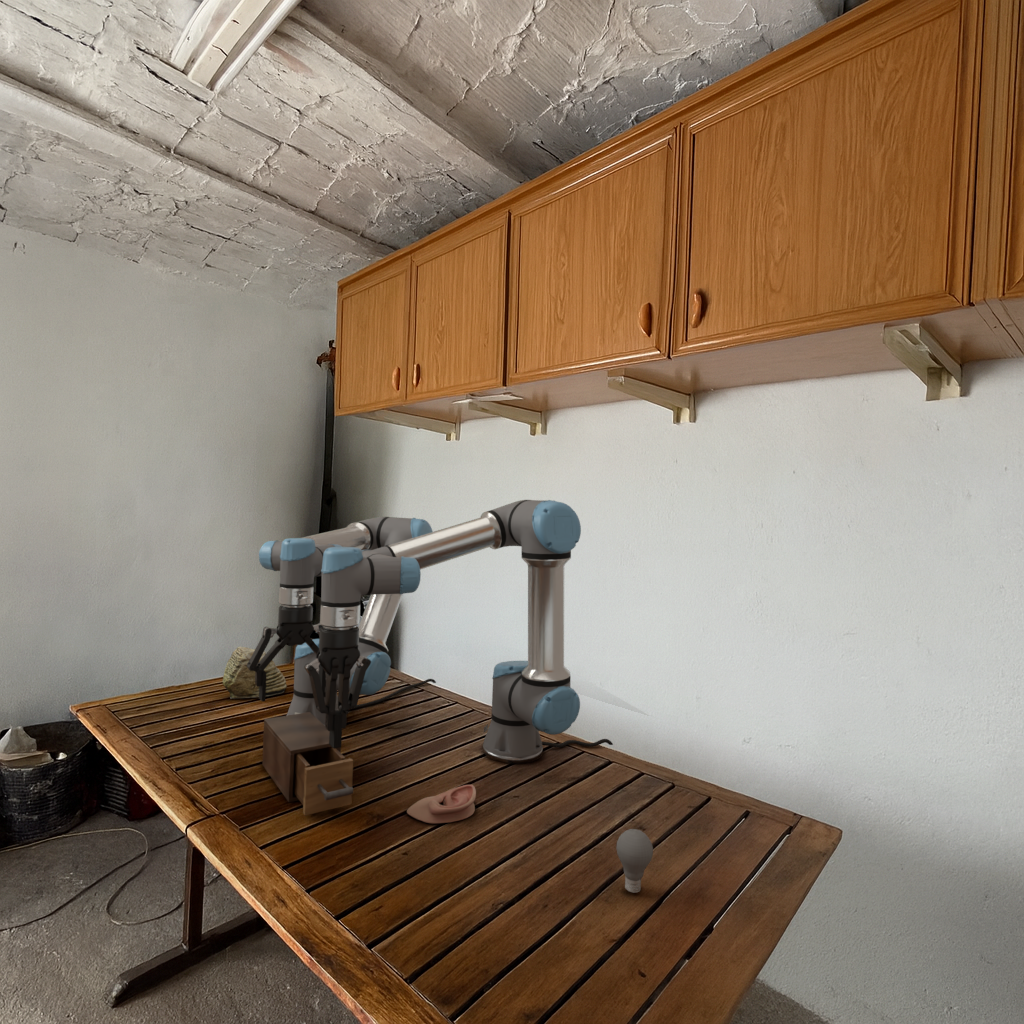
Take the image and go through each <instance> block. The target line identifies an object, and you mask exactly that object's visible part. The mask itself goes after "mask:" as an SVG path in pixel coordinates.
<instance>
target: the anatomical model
mask: <svg viewBox="0 0 1024 1024" xmlns="http://www.w3.org/2000/svg"><path fill="white" fill-rule="evenodd" d="M476 798H477V790H476V787H475V785H473V784H464V785H460V786H458V787H454V788H451V789H449V790H447V791H443V792H442V793H440V794H437V795H434V796H433V795H432V796H427V797H424V798H421V799H419V800H417V801H416V802H415V803H413V804H412V805H411V806H409V807H408V809H407V810H406V814H407V815H409V816H410V817H412V818H414V819H415V820H417V821H421V822H423V823H427V824H445V823H454V822H458V821H462V820H465V819H467V818H469V817H471V816H472V815H473V814H474V813H475V809H476V807H475V806H476V805H475V803H474V802H475V800H476Z"/></svg>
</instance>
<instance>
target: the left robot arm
mask: <svg viewBox="0 0 1024 1024" xmlns="http://www.w3.org/2000/svg"><path fill="white" fill-rule="evenodd" d="M431 532H434V531H433V528H432V526H431V524H430V523H429V522H428V521H427V520H426V519H424V518H421V519H420V518H416V517H412V518H410V517H397V516H396V517H395V516H377V517H371V518H367V519H362V520H359V521H354V522H351V523H349V524H347V526H346V527H342V528H338V529H334V530H329V531H325V532H321V533H317V534H312V535H307V536H302V537H287V538H284V539H282V541H281V540H278V539H277V540H267V541H266V542H264V543H263V544H262V546H261V547H260V549H259V552H258V561H259V564H260V565H261V567H262V568H263V569H265V570H270V571H273V572H279V590H278V591H279V592H278V603H279V606H278V618H277V622H278V623H277V626H276V627H268V626H263V629H262V634H261V635H262V636H261V637H260V639H259V642H258V643H257V644H256V647H255V648H254V649H255V651H254V653H253V655H252V656H251V658H250V660H249V662H248V664H247V668H248V669H249V670H250V671H255V684H256V686H257V687H258V686H259V697H258V699H259V700H260V701H261V702H266V698H267V696H266V672H265V671H264V669H265V668H266V667H267V666H268V664H269V663H270V662H271V661H272V660H273V661H274V659H275V657H276V656H277V655H278V654H279V653H280V652H281V650H283V649H284V648H285V647H286V646H288V647H294V646H296V647H295V652H294V653H295V654H294V657H293V660H294V661H293V662H294V663H293V664H294V668H293V695H292V696H293V697H292V699H291V702H290V704H289V708H288V711H287V713H286V715H285V716H288V715H294V714H301V713H307V712H310V713H311V714H312V715H314V716H315V717H316V718H317V719H318V720H319V721H320V722H321V723H322V724H323V725H324V726H325V719H326V714H325V713H321V712H319V711H318V710H317V709H316V705H315V700H314V696H313V691H312V686H311V681H310V677H309V674H308V673H307V671H306V670H305V668H304V665H305V664H306V663H309V664H310V663H311V662H312V661H314V660H315V659H316V655H317V653H318V651H319V638H313V639H312V638H311V635H312V634H313V633H314V631H315V633H316V634H318V635H319V634H320V628H321V627H322V625H321V624H320V622H318V623H317V624H313V612H314V610H313V609H314V607H313V605H311V604H313V603H314V580H315V578H316V577H322V572H321V570H322V563H323V554H324V551H325V550H326V549H327V548H330V547H355V548H360V549H361V550H374V549H378V548H381V547H385V546H388V545H391V544H394V543H398V542H401V541H404V540H408V539H411V538H414V537H418V536H421V535H424V534H428V533H431ZM403 595H404V594H401V595H400V594H374V595H369V598H368V601H367V603H366V606H365V609H364V611H363V613H362V616H361V618H360V622H359V624H358V626H357V627H358V628H359V645H358V648H359V651H360V655H361V656H363V657H366V658H368V659H369V660H371V664H370V665H369V667H368V669H367V670H366V672H365V676H364V680H363V684H362V688H361V691H360V695H359V696H361V695H363V696H364V695H365V696H372V695H375V694H376V693H378V692H380V691H381V690H382V689H383V687H384V686H385V685H386V683H387V682H388V680H389V677H390V674H391V669H392V667H391V665H392V660H391V656H389V654H388V653H389V649H388V646H387V645H386V644H387V639H388V637H389V634H390V632H391V628H392V626H393V623H394V620H395V617H396V616H397V612H398V609H399V606H400V604H401V602H402V599H403ZM275 634H276V635H277V636H278V638H276V640H275V641H274V644H273V645H272V646H271V647H270V648H269V649H268V651H267V652H265V650H266V649H267V647H268V645H269V643H270V641H271V639H272V638H273V637H274V635H275ZM263 652H265V653H266V654H265V656H264V657H263V658H262V659H261V660H260V658H261V656H262V654H263ZM259 660H260V662H259ZM258 662H259V663H258ZM356 666H357V665H356V663H355V664H354V666H353V667H352V669H351V670H350V678H349V691H350V687H351V684H352V680H353V676H354V672H355V669H356ZM317 673H318V674H319V677H320V682H321V686H322V691H323V696H324V701H325V696H326V672H325V670H324V669H323V668H322V666H321V665H319V671H318V672H317ZM430 682H432V683H433V684H437V681H436V680H435V679H433V678H428V679H425V680H423V681H420V682H416V683H414V684H410V685H407V686H405V687H402V688H400V689H398V690H396V691H394V692H392V693H390V694H387V695H385V696H383V697H381V698H378V699H375V700H372V701H368V702H365V703H358V704H357V706H356V708H352V709H351V710H355V709H360V708H364V707H368V706H372V705H375V704H378V703H381V702H384V701H386V700H388V699H390V698H392V697H395V696H396V695H398V694H400V693H403V692H405V691H408V690H409V689H413V688H416V687H420V686H423V685H425V684H427V683H430ZM338 688H339V675H338V678H337V681H336V705H335V710H338V711H339V709H338Z"/></svg>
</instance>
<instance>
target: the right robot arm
mask: <svg viewBox="0 0 1024 1024" xmlns="http://www.w3.org/2000/svg"><path fill="white" fill-rule="evenodd" d="M581 535H582V526H581V521H580V518H579V516H578V514H577V512H576V511H575V510H574V508H572V507H571V506H570V505H568V504H566V503H565V502H562V501H556V500H551V499H548V500H547V499H546V500H543V499H542V500H541V499H540V500H539V499H538V500H537V499H536V500H535V499H522V500H517V501H513V502H511V503H508V504H504V505H502V506H499V507H496V508H493V509H491V510H486V511H484V512H482V513H481V515H480V517H478V518H475V519H472V520H467V521H465V522H462V523H458V524H455V525H451V526H448V527H444V528H441V529H438V530H435V531H433V532H431V533H428V534H424V535H421V536H418V537H414V538H411V539H408V540H404V541H401V542H398V543H394V544H391V545H388V546H385V547H381V548H378V549H374V550H361V549H360V548H355V547H330V548H327V549H326V550H325V551H324V554H323V563H322V570H321V572H322V576H321V590H320V592H321V593H320V594H321V595H320V596H321V597H320V610H319V611H320V612H319V613H320V614H319V623H320V624H321V625H322V627H321V628H320V634H318V636H319V637H318V639H319V651H318V653H317V655H316V659H315V660H314V661H312V662H311V663H310V664H309V663H306V664H305V665H304V668H305V670H306V671H307V673H308V674H309V677H310V681H311V686H312V691H313V696H314V700H315V705H316V709H317V710H318V711H319V712H321V713H325V714H326V719H325V727H326V729H327V730H328V731H330V732H329V744H330V745H331V746H332V747H333V748H339V747H341V748H342V738H343V736H342V735H343V730H344V729H346V728H347V725H348V714H349V713H350V711H351V710H353V709H352V708H356V706H357V705H358V704H359V703H358V702H359V699H360V696H361V695H360V691H361V688H362V684H363V680H364V676H365V672H366V670H367V669H368V667H369V665H370V664H371V660H369V659H368V658H366V657H363V656H361V655H360V651H359V648H358V645H359V628H358V627H359V624H360V622H361V617H360V616H361V597H362V596H371V595H374V594H400V595H401V594H403V595H405V594H412V593H415V592H416V591H417V590H418V588H419V586H420V583H421V575H422V574H421V570H423V569H427V568H430V567H433V566H436V565H438V564H441V563H445V562H449V561H451V560H455V559H457V558H461V557H463V556H464V557H465V556H466V555H470V554H472V553H476V552H479V551H482V550H485V549H488V548H489V549H492V550H498V549H501V548H505V547H507V548H508V547H521V560H522V561H523V562H525V563H526V565H527V660H507V661H501V662H498V663H497V664H495V665H494V668H493V672H492V673H493V674H492V678H491V679H492V696H491V697H492V698H491V719H490V720H491V721H490V723H489V724H486V725H485V726H484V727H483V733H485V737H484V740H483V742H482V753H483V754H484V755H485V756H486V757H487V758H489V759H490V760H493V761H496V762H499V763H505V764H525V763H526V764H527V763H531V762H534V761H537V760H539V759H540V758H542V756H543V752H544V751H543V750H544V748H543V747H545V746H546V747H550V748H551V747H552V748H559V749H561V748H564V747H566V746H569V745H578V746H580V747H586V748H596V747H598V746H600V745H603V744H604V743H606V744H608V745H609V746H613V745H614V744H613V742H612V741H611V739H609V738H602V739H599V740H596V741H595V742H586V741H585V742H584V741H581V740H575V739H567V740H565V741H563V742H561V743H555V742H550V741H543V740H542V738H541V737H542V736H541V735H540V732H542V733H545V734H547V735H552V736H554V735H560V734H562V733H564V732H566V731H567V730H569V729H570V728H571V726H572V724H574V723H575V721H577V718H578V716H579V713H580V711H581V710H580V709H581V700H580V696H579V694H578V693H577V692H576V690H575V689H574V688H573V687H571V671H570V670H569V669H568V668H567V667H566V666H565V566H566V564H567V563H568V562H569V561H571V559H572V551H573V549H574V548H576V546H577V543H579V541H580V538H581ZM355 663H356V665H357V666H356V669H355V672H354V676H353V680H352V684H351V687H350V691H349V678H350V670H351V669H352V667H353V666H354V664H355ZM319 665H321V666H322V668H323V669H324V670H325V672H326V696H325V701H324V696H323V691H322V686H321V682H320V677H319V674H318V673H317V672H318V671H319ZM338 675H339V688H338V690H337V695H338V709H339V711H338V710H335V705H336V681H337V678H338ZM356 709H357V708H356Z"/></svg>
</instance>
